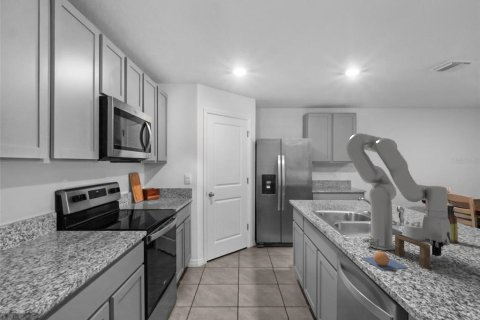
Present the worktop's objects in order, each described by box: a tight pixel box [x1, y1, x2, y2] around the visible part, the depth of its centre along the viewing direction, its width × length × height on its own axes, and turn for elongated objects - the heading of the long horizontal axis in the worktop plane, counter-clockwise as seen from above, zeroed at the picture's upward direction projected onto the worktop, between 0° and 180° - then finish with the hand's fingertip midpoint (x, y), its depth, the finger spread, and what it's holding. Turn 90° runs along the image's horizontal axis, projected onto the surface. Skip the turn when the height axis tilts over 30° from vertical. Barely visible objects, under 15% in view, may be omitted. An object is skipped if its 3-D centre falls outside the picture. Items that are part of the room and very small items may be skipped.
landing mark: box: [361, 256, 408, 271], centre depth 103 cm, size 12×12×1 cm
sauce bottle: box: [447, 203, 459, 244], centre depth 130 cm, size 7×6×20 cm
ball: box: [373, 251, 389, 266], centre depth 100 cm, size 6×6×6 cm
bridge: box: [394, 234, 431, 269], centre depth 105 cm, size 3×14×9 cm, turn 10°
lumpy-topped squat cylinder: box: [403, 220, 427, 241], centre depth 138 cm, size 10×13×9 cm
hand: (436, 255), depth 107 cm, fingers closed
